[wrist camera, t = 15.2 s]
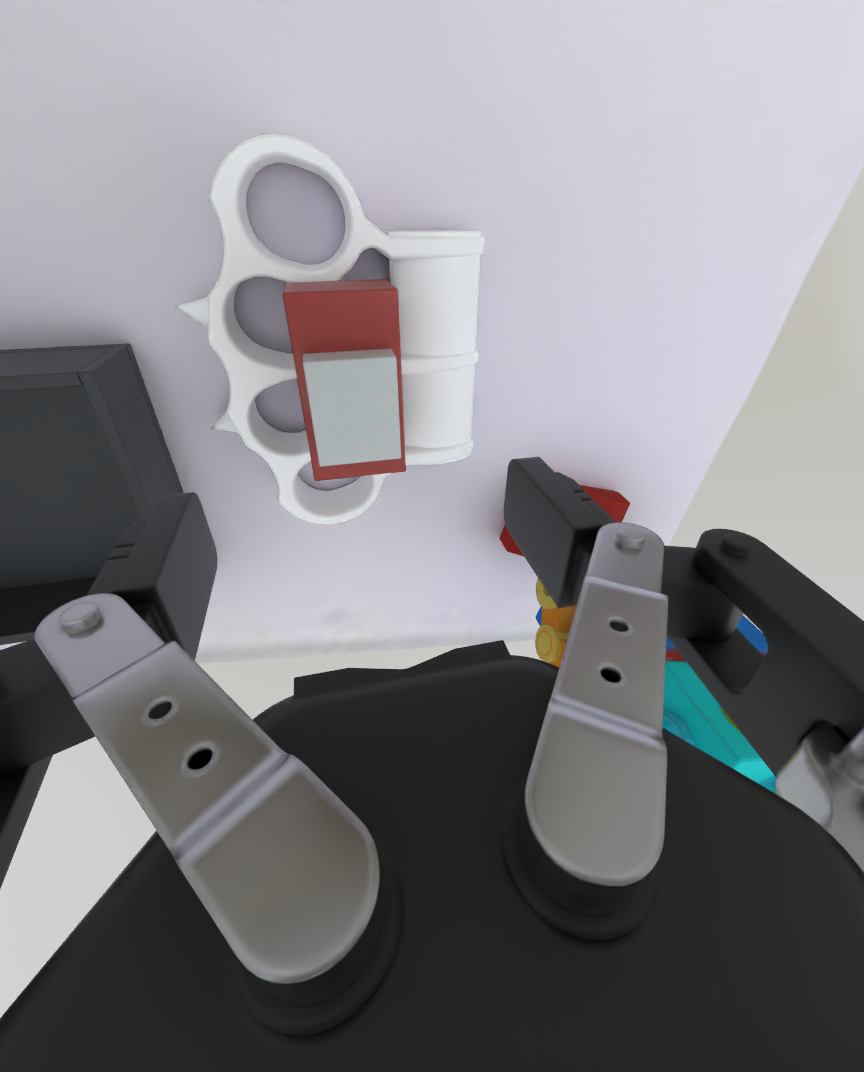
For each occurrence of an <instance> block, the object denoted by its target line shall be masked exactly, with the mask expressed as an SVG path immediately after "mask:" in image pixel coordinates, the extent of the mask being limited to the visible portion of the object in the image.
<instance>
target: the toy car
mask: <svg viewBox="0 0 864 1072" xmlns="http://www.w3.org/2000/svg"><path fill="white" fill-rule="evenodd" d="M283 300H284V305H285V311H286V317H287V323H288V329H289V334H290V340H291V346H292V352H293V358H294V364H295V369H296V375H297V381H298V387H299V393H300V398H301V404H302V410H303V416H304V422H305V428H306V433H307V439H308V445H309V451H310V457H311V462H312V468H313V474H314V479H315V481H320V480H330V479H339V478H349V477H358V476H367V475H377V474H386V473H395V472H404V471H406V461H405V438H404V415H403V393H402V370H401V347H400V324H399V301H398V289H397V288H396V287H395V286H393V285H392V284H391V283H390V282H389V281H387V280H386V279H379V280H349V281H320V282H290V283H286V285H285V288H284V292H283Z"/></svg>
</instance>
